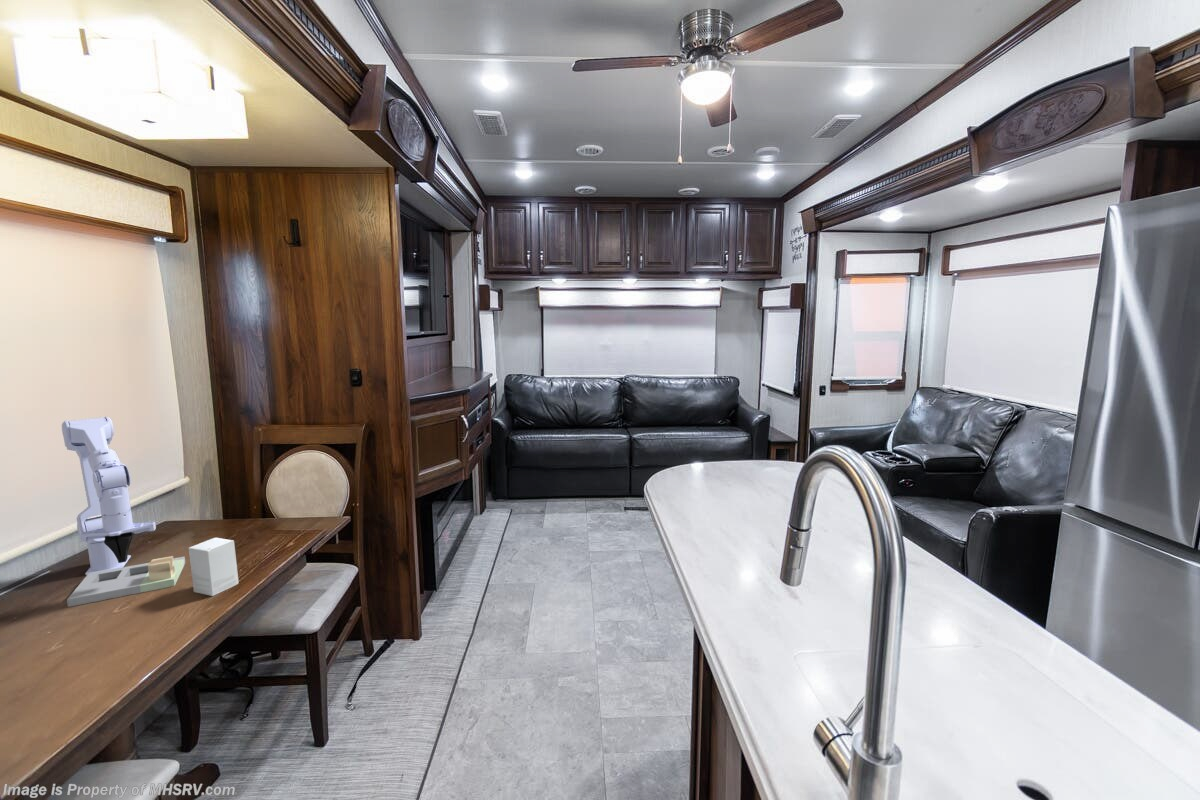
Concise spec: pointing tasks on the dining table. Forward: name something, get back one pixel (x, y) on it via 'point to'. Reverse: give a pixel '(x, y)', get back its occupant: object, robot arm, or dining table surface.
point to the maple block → (161, 568)
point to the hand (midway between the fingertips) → (123, 560)
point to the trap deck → (120, 583)
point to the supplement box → (213, 566)
